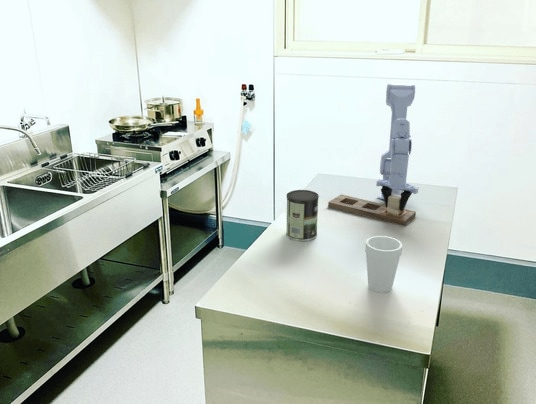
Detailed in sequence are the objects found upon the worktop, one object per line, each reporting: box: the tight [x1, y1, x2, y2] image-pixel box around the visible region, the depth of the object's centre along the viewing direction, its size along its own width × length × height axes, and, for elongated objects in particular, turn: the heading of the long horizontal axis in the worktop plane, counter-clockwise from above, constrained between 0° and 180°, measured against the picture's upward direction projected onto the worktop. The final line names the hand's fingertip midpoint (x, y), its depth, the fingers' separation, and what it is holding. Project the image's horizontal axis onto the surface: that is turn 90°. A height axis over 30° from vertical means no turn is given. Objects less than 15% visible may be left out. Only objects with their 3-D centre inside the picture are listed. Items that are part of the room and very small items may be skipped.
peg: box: [387, 194, 402, 216], centre depth 187 cm, size 4×4×8 cm
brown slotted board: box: [327, 193, 417, 227], centre depth 193 cm, size 10×30×2 cm, turn 55°
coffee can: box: [286, 189, 320, 242], centre depth 172 cm, size 10×10×14 cm
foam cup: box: [364, 235, 403, 294], centre depth 141 cm, size 10×9×13 cm
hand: (394, 208), depth 187 cm, fingers open, 5 cm apart
